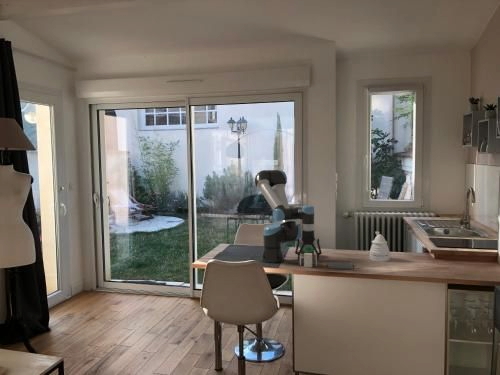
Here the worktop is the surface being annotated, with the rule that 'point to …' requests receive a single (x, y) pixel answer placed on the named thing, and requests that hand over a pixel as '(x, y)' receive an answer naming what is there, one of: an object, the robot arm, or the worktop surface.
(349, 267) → the rubber mat
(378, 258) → the honey pot
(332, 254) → the worktop surface
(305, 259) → the card box
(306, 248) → the food container
